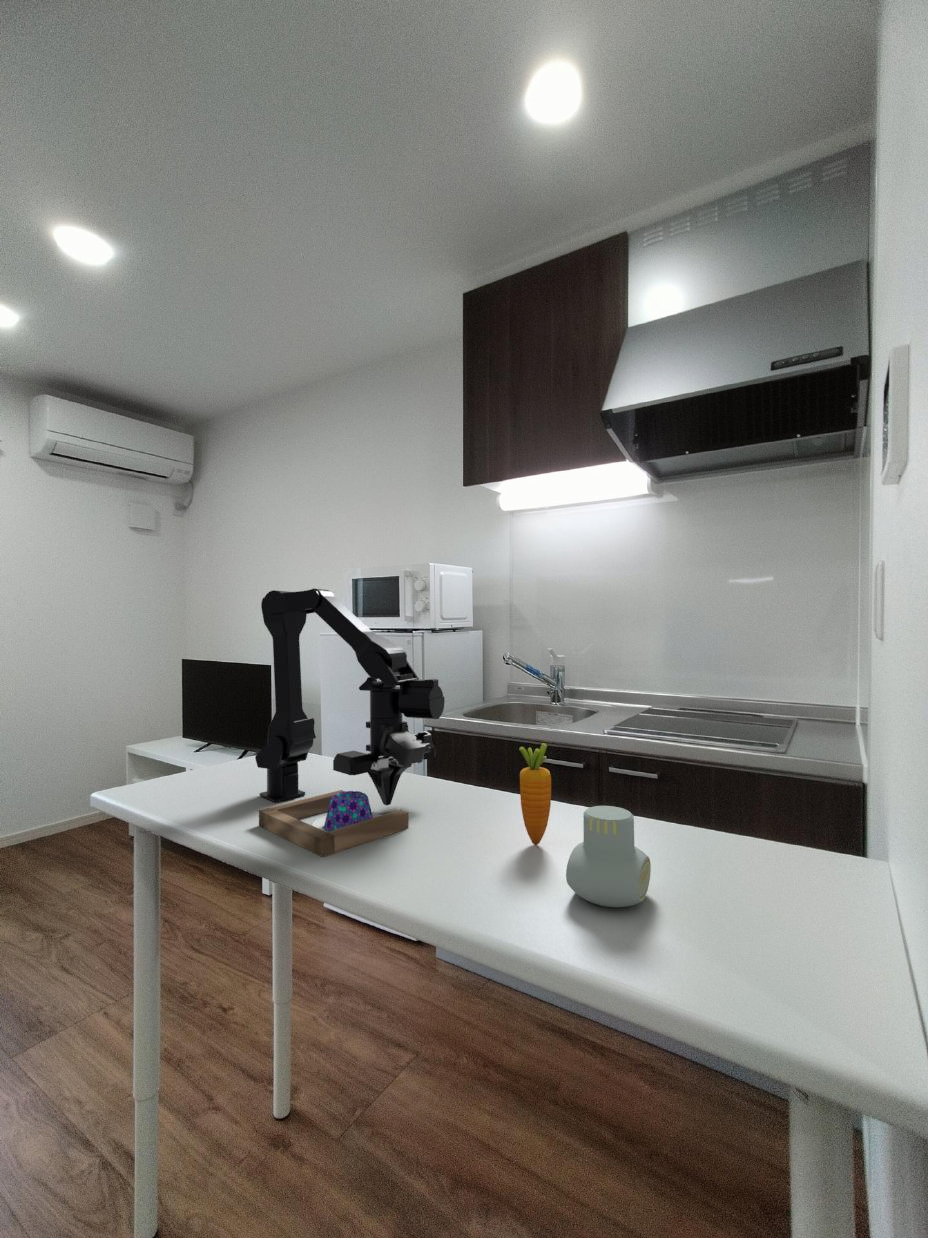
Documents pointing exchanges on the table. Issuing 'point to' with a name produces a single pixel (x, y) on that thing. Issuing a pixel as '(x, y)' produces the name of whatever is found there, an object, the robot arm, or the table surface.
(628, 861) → the air freshener
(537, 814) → the carrot
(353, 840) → the holder
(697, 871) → the table surface
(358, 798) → the pudding
